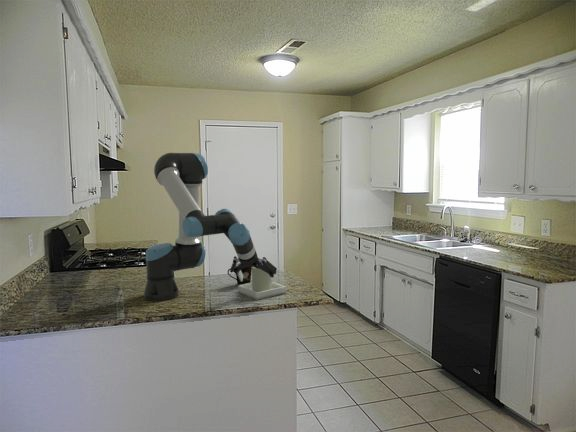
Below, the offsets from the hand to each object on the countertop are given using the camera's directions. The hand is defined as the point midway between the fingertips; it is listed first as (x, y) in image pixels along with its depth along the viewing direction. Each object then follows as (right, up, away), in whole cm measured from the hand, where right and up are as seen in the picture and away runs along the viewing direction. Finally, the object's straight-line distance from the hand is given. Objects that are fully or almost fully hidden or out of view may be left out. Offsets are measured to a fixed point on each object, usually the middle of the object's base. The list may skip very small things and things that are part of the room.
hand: (256, 279), depth 180 cm
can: (+2, -7, +9) cm, 11 cm away
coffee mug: (-10, -6, +23) cm, 26 cm away
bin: (+2, -7, +9) cm, 12 cm away
